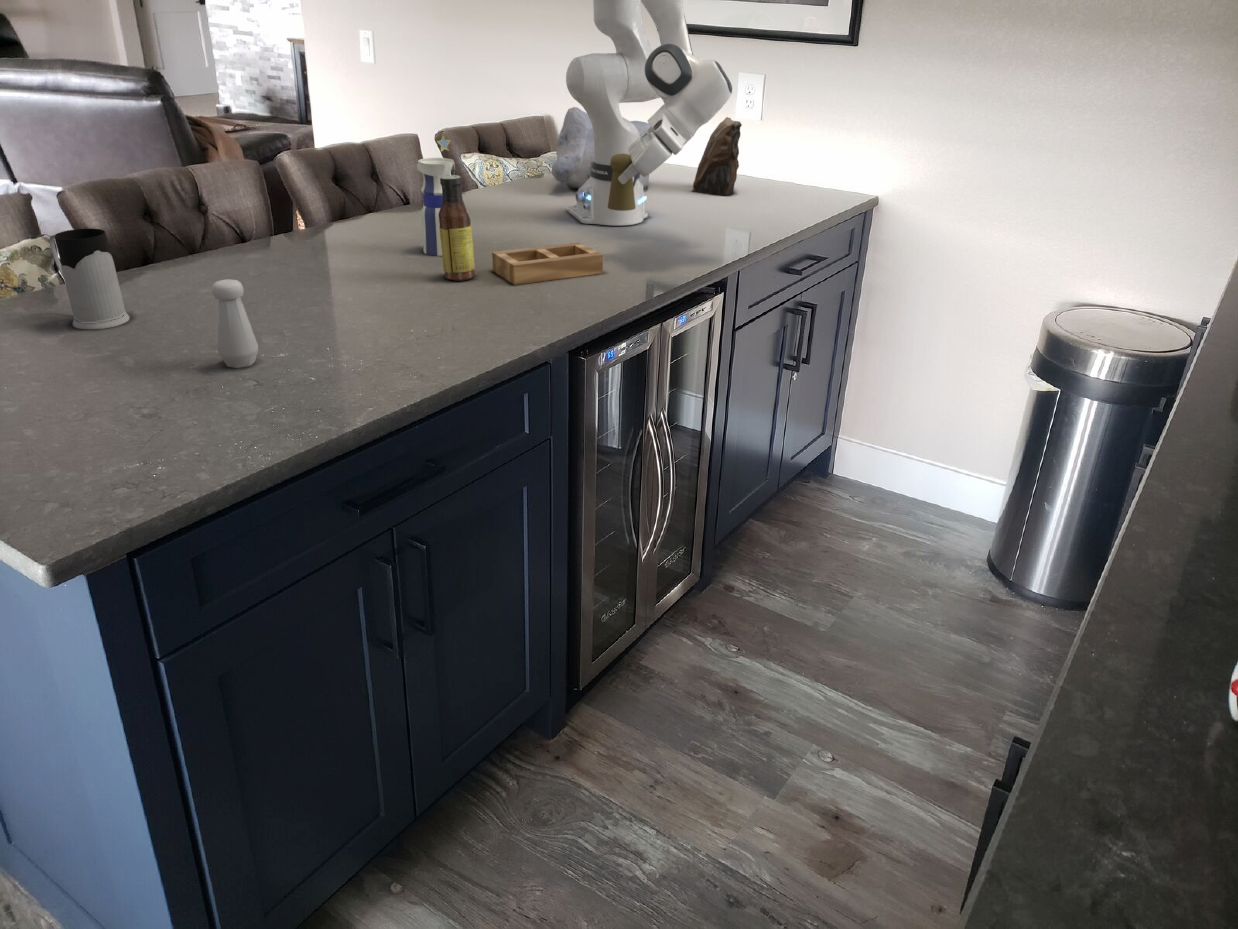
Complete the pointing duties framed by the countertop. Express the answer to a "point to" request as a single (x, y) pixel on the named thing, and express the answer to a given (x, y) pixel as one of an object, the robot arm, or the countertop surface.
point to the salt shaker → (234, 326)
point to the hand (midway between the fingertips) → (619, 178)
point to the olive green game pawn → (621, 185)
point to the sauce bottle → (455, 231)
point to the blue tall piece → (433, 197)
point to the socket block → (547, 263)
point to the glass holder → (89, 278)
